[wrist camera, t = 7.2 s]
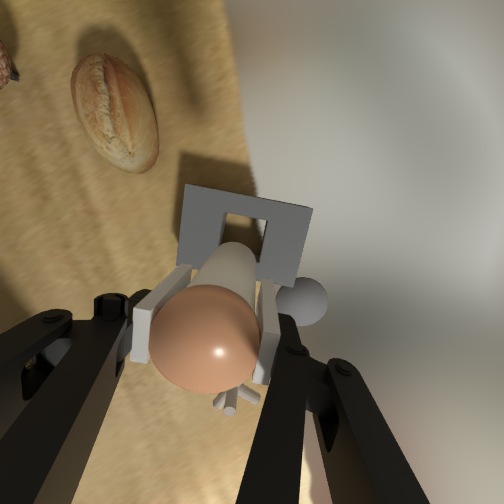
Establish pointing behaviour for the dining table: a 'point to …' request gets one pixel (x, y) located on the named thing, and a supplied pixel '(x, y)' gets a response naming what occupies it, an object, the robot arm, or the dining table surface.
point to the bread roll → (115, 113)
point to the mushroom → (210, 325)
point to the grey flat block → (274, 212)
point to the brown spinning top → (6, 67)
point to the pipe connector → (235, 398)
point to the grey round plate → (303, 301)
